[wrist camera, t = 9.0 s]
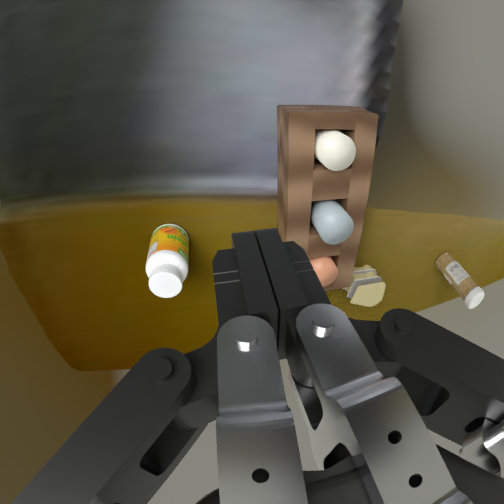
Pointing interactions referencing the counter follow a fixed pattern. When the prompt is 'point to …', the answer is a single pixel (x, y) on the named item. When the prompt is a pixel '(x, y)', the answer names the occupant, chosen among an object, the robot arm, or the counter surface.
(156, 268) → the supplement bottle
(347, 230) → the blue-grey egg
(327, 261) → the brown egg
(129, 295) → the counter surface
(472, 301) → the sprinkles bottle
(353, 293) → the stacked layers on plate
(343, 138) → the cream button
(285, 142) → the button panel
